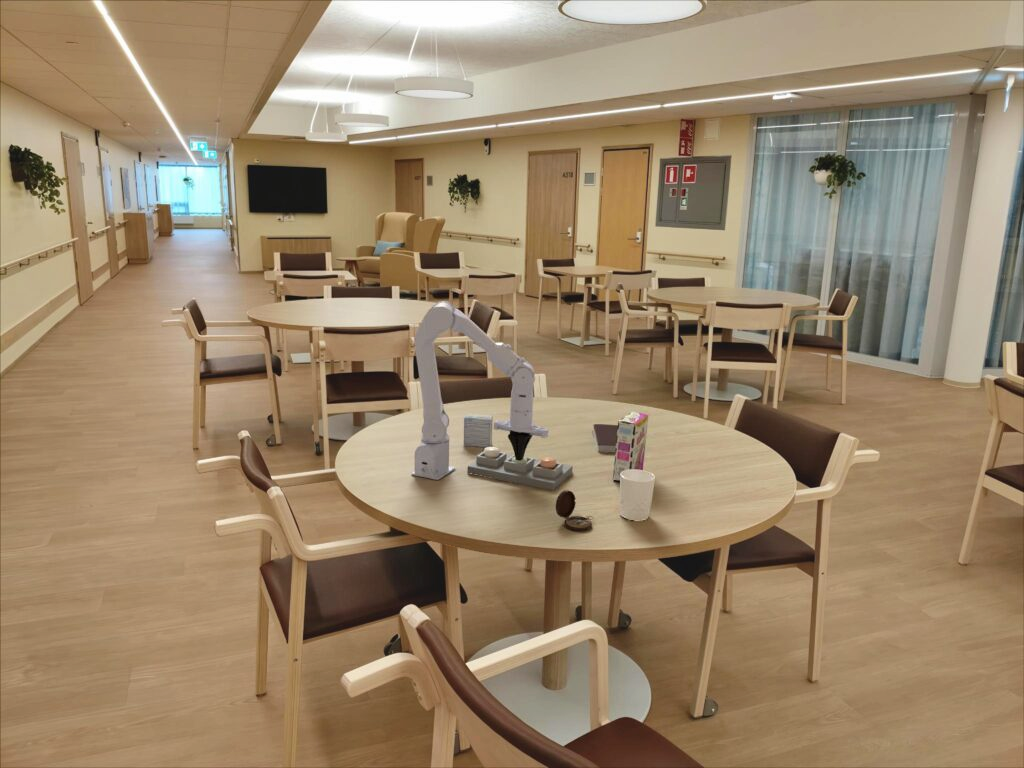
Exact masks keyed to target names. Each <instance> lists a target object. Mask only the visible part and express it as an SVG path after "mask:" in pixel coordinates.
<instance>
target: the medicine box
mask: <svg viewBox="0 0 1024 768" xmlns="http://www.w3.org/2000/svg"><path fill="white" fill-rule="evenodd" d="M493 423H494V422H493V415H490V414H489V415H488V414H477V413H476V414H474V413H467V414H465V416H464V418H463V447H473V446H479V447H478V448H486V447H492V443H493Z"/></svg>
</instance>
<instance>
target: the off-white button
mask: <svg viewBox="0 0 1024 768" xmlns="http://www.w3.org/2000/svg"><path fill="white" fill-rule="evenodd" d="M483 449H484V450H483V452H484V457H488V458H494V459H497V458H498V457H499V452H500V448H498V447H496V446H491V447H484V448H483Z"/></svg>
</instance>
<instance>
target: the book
mask: <svg viewBox="0 0 1024 768" xmlns="http://www.w3.org/2000/svg"><path fill="white" fill-rule="evenodd" d="M592 425H593V430H592V432H591V433H592V437H593V439H594V442H595V445H596V446H597V447H596V449H597V450H598V452H597V453H608V452H615V451H616V440H617V429H618V424H603V423H600V424H599V423H595V424H592ZM597 450H596V451H597Z"/></svg>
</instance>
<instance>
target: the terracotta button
mask: <svg viewBox="0 0 1024 768" xmlns="http://www.w3.org/2000/svg"><path fill="white" fill-rule="evenodd" d="M539 460H540V467H541V468H546V469H551V470H553V469H555V468H556V463H557V459H556V458H554V457H551V456H545V457H544V456H543V457H541V458H540V459H539Z"/></svg>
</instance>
